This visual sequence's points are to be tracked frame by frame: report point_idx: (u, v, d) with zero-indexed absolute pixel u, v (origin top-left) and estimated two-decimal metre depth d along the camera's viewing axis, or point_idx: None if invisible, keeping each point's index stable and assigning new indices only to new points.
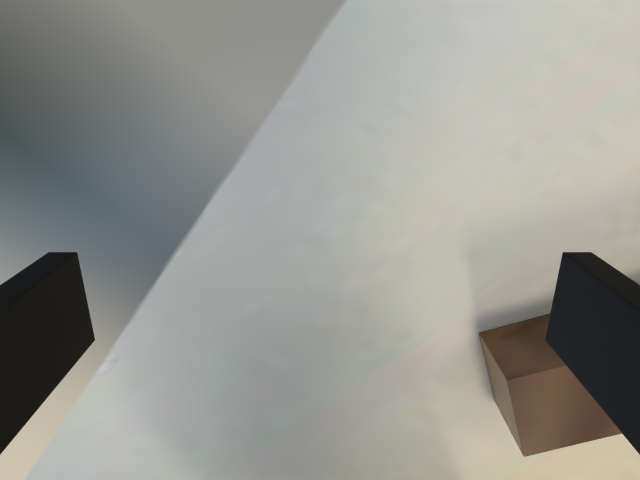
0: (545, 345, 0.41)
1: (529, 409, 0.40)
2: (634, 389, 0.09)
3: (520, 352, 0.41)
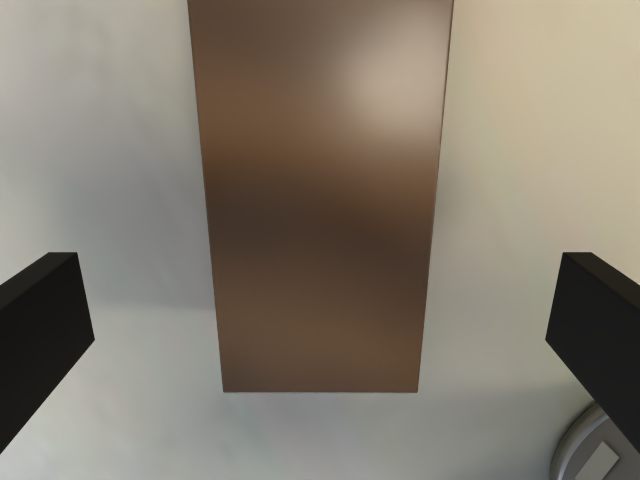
0: None
1: (301, 369, 0.20)
2: (634, 389, 0.09)
3: None
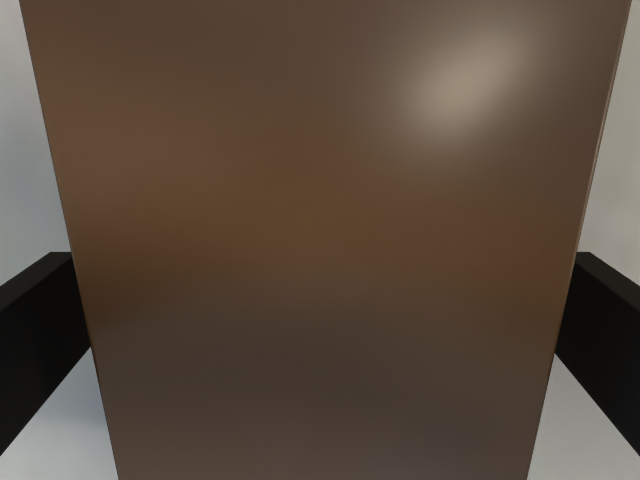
0: None
1: None
2: (632, 388, 0.09)
3: None
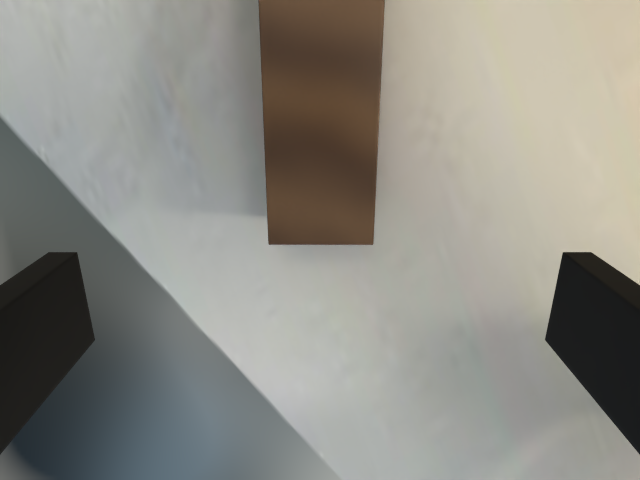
0: None
1: (310, 230, 0.38)
2: (634, 389, 0.09)
3: None
